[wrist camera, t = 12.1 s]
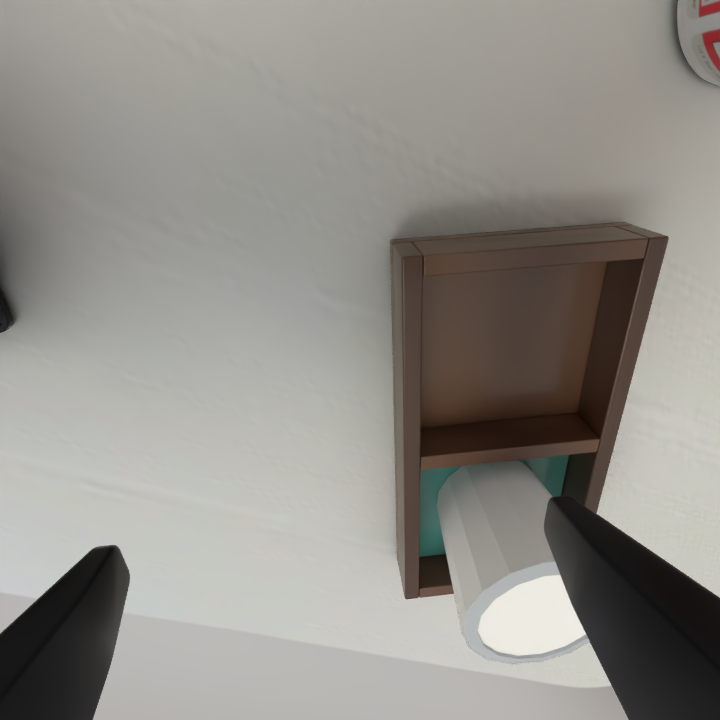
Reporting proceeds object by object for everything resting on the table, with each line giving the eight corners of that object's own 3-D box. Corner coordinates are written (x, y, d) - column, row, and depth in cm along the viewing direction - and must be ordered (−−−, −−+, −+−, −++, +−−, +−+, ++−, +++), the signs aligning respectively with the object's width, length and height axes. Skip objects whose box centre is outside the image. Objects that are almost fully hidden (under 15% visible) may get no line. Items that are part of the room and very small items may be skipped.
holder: (396, 557, 28) (405, 600, 25) (389, 239, 19) (401, 257, 16) (556, 539, 28) (579, 579, 26) (624, 221, 19) (670, 236, 17)
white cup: (546, 527, 27) (617, 650, 20) (431, 550, 27) (467, 679, 20) (549, 435, 23) (634, 547, 17) (418, 461, 23) (456, 583, 17)
